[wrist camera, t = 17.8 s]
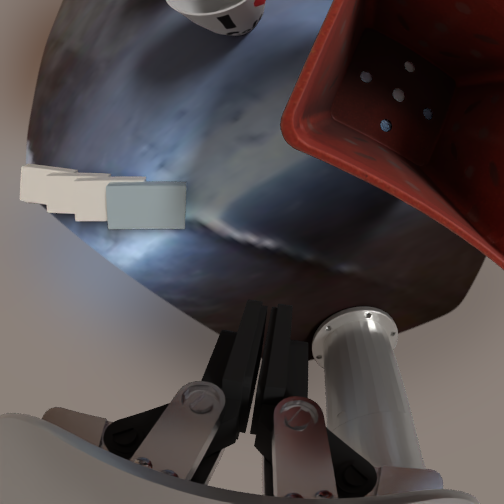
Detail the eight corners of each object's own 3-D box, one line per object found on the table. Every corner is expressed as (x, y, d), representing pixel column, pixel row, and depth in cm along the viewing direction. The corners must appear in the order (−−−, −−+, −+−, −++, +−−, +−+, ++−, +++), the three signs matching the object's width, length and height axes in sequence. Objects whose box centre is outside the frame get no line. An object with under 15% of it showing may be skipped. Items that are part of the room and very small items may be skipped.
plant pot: (430, 209, 28) (516, 281, 13) (283, 134, 27) (271, 139, 12) (480, 79, 19) (577, 74, 4) (343, -6, 19) (376, -93, 4)
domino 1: (69, 208, 32) (19, 200, 29) (74, 204, 34) (25, 196, 31) (72, 172, 30) (21, 166, 27) (77, 170, 32) (28, 163, 29)
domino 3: (143, 221, 32) (75, 221, 29) (145, 215, 33) (80, 215, 31) (144, 180, 29) (72, 181, 27) (146, 176, 31) (78, 177, 29)
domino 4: (184, 228, 31) (108, 229, 29) (184, 222, 33) (111, 222, 31) (186, 185, 29) (105, 186, 27) (186, 181, 31) (110, 182, 28)
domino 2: (106, 215, 32) (47, 212, 29) (109, 210, 34) (52, 207, 31) (107, 177, 30) (45, 175, 27) (110, 173, 31) (52, 172, 29)
